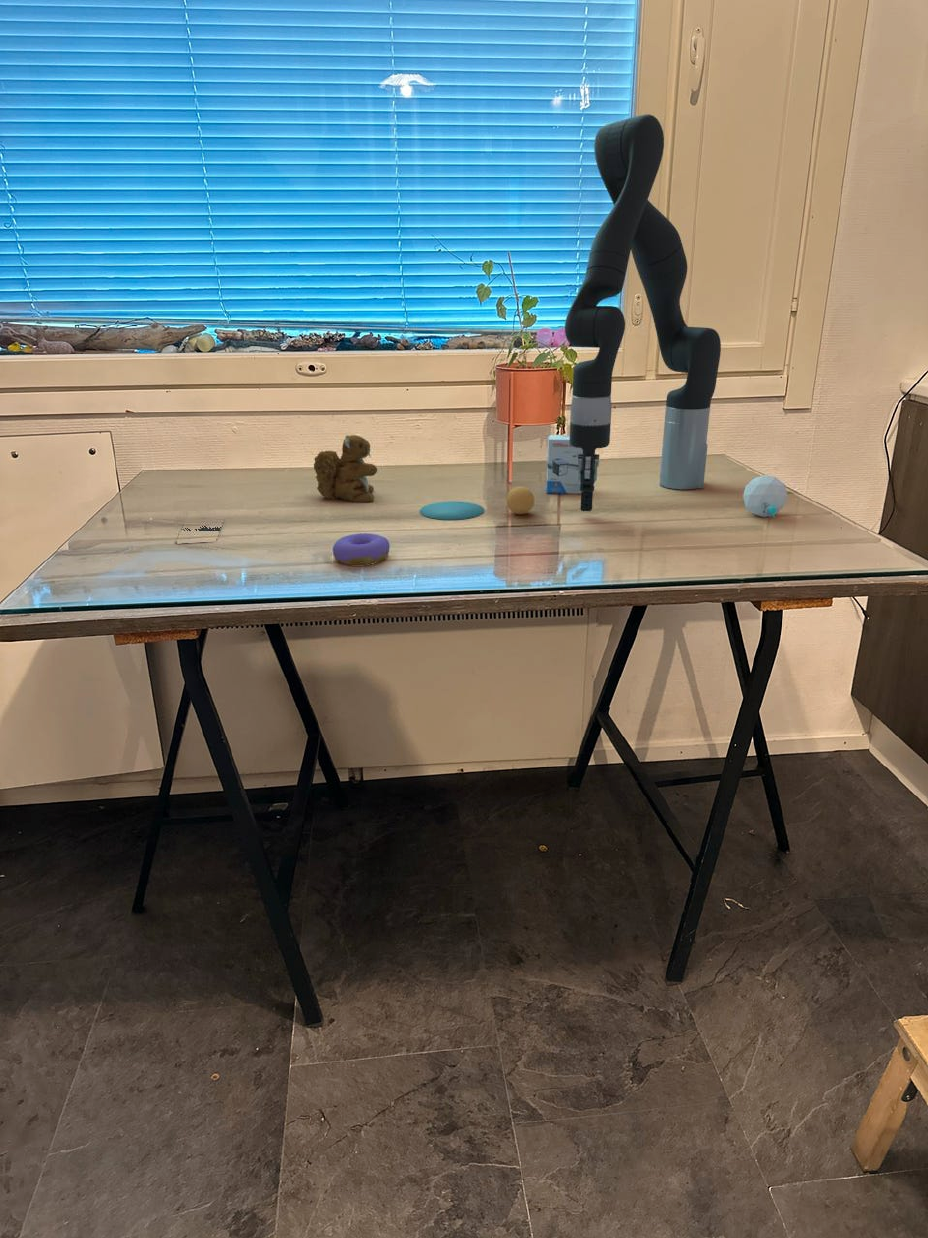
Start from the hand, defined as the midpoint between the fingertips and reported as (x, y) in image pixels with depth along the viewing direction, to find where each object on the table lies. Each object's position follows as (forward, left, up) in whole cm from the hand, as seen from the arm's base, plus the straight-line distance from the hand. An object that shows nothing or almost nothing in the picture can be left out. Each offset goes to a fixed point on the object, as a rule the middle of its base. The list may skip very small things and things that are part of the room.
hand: (586, 509), depth 159 cm
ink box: (+5, -20, -2) cm, 21 cm away
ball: (+13, -1, +1) cm, 13 cm away
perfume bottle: (-34, -4, -2) cm, 34 cm away
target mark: (+27, -2, -2) cm, 27 cm away
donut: (+37, +29, -2) cm, 47 cm away
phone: (+72, +18, -2) cm, 74 cm away
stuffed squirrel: (+52, -10, -2) cm, 53 cm away
